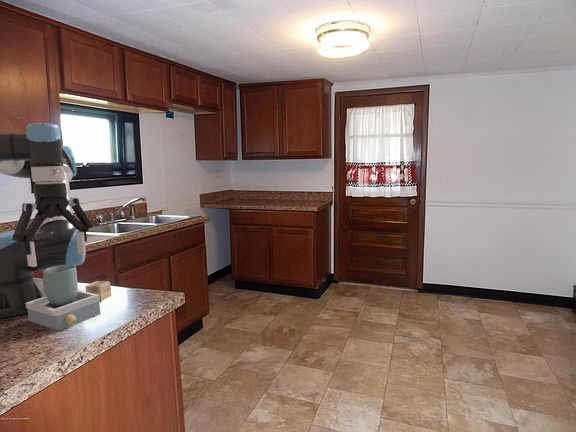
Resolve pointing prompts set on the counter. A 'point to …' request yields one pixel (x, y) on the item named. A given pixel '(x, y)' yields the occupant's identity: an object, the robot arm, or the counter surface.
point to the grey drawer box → (64, 311)
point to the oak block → (100, 289)
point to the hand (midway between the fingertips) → (58, 259)
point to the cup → (60, 284)
